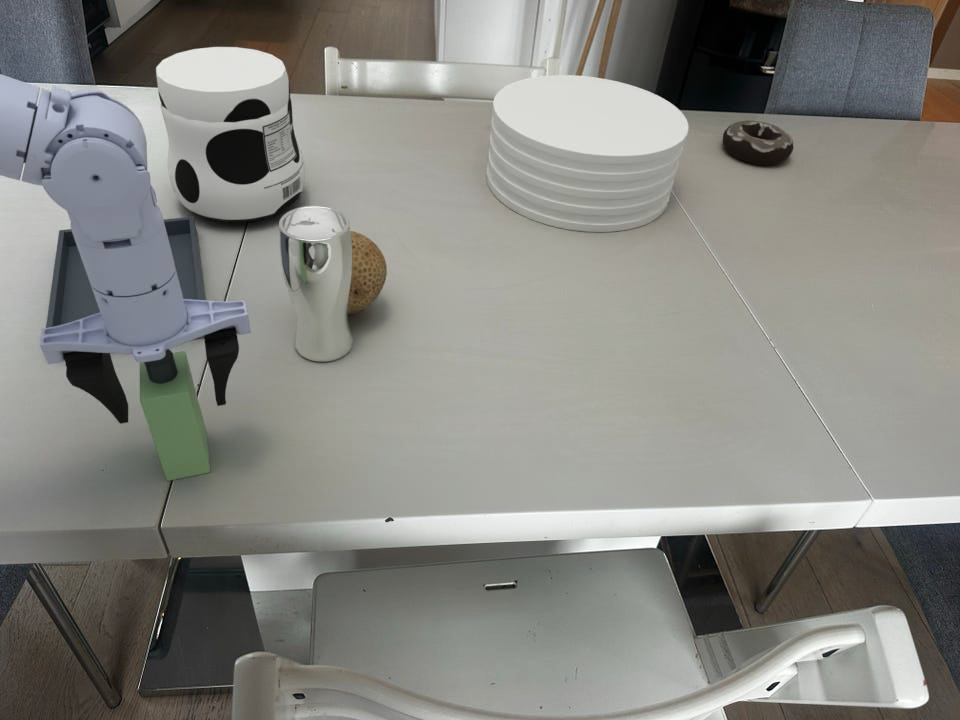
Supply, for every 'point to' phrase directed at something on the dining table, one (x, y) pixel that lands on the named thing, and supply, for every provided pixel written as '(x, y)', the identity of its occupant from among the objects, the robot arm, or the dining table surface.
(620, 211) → the plate stack
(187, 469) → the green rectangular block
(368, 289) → the natural sponge
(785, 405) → the dining table surface
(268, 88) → the milk container
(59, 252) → the dark grey tray
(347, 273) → the beer glass
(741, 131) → the donut
